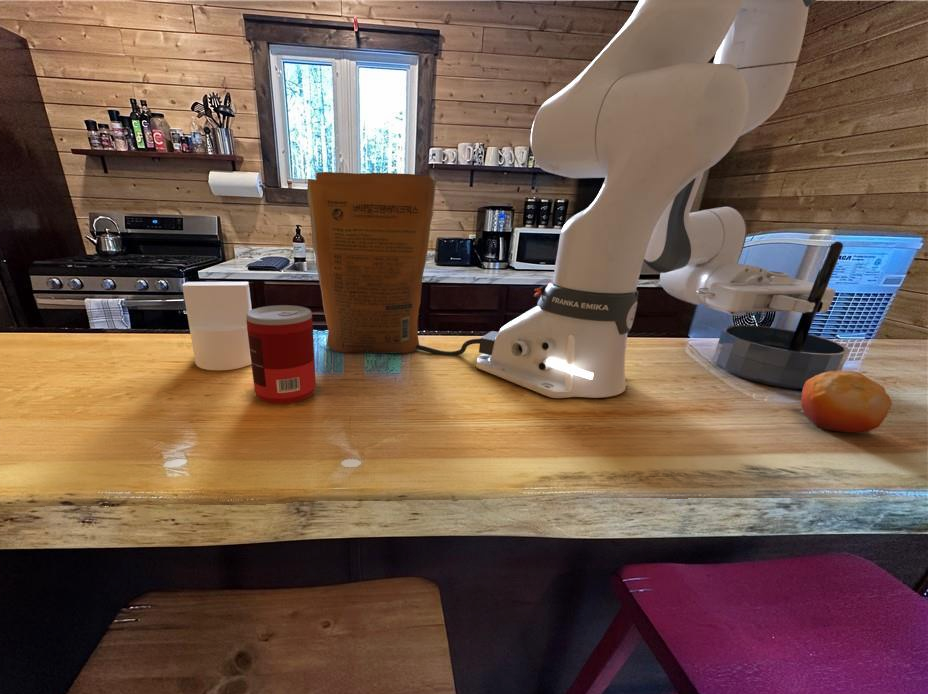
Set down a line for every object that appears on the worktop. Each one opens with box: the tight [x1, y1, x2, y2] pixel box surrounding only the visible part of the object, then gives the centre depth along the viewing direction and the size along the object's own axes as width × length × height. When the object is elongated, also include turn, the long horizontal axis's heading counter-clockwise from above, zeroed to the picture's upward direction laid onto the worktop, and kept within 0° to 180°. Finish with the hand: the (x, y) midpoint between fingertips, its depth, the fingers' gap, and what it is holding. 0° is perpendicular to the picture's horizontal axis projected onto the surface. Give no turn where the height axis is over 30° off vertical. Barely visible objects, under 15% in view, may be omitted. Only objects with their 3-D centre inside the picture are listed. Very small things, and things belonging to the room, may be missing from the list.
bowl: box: [712, 324, 850, 390], centre depth 72 cm, size 16×16×6 cm
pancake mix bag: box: [306, 171, 437, 355], centre depth 70 cm, size 7×19×28 cm, turn 93°
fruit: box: [800, 370, 893, 434], centre depth 54 cm, size 8×8×8 cm
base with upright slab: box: [181, 281, 253, 371], centre depth 66 cm, size 9×9×12 cm
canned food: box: [246, 304, 317, 405], centre depth 56 cm, size 8×8×11 cm
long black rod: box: [788, 241, 844, 352], centre depth 67 cm, size 5×5×20 cm
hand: (818, 307), depth 66 cm, fingers closed on long black rod
